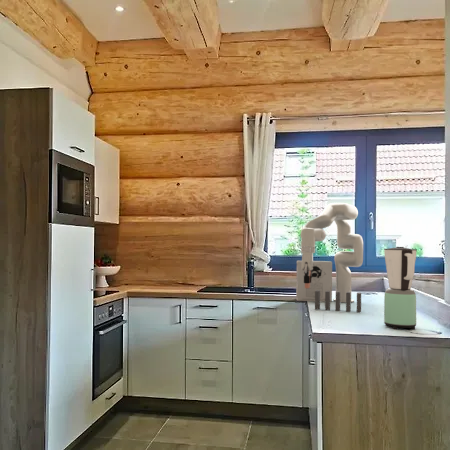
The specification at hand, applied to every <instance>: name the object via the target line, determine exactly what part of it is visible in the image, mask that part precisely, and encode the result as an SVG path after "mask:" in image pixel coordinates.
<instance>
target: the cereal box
mask: <svg viewBox="0 0 450 450" xmlns="http://www.w3.org/2000/svg"><path fill="white" fill-rule="evenodd" d="M301 268H302V260H296V276H295V277H296V279H295V280H296V285H295V286H296V288H295V289H296V291H295V292H296V293H295V295H296V297H295V299H296V301H298V302H315V291H316V290H320V302H321V303H322V302H324V303H325V292H326V291H330V303H331V302H332V301H333V261H330V260H329V261H328V260H327V261H325V260H313V269H312V270H311V275H310V276H311V283H310V288H305V283H304V270H302V269H301Z"/></svg>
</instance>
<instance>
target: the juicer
mask: <svg viewBox="0 0 450 450" xmlns="http://www.w3.org/2000/svg"><path fill="white" fill-rule="evenodd" d="M417 250H418V249H416V248H415V249H413V248H407V247H404V246H396V247H389V248H383V251H384V260H385V268H386V275H387V281H388V286H389V287H388V288H386V289H385V292H384V299H383V300H384V301H383V303H384V304H383V305H384V306H383V307H384V308H383V310H384V311H383V312H384V313H383V317H384V318H383V323H384V325H385V327H391V328H392V329H393V330H399V329H410V330H415V331H416V326H417V294H416V292H415V290H414V289H413V288H412V285H413V278H414V277H415V265H416V259H417Z"/></svg>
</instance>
